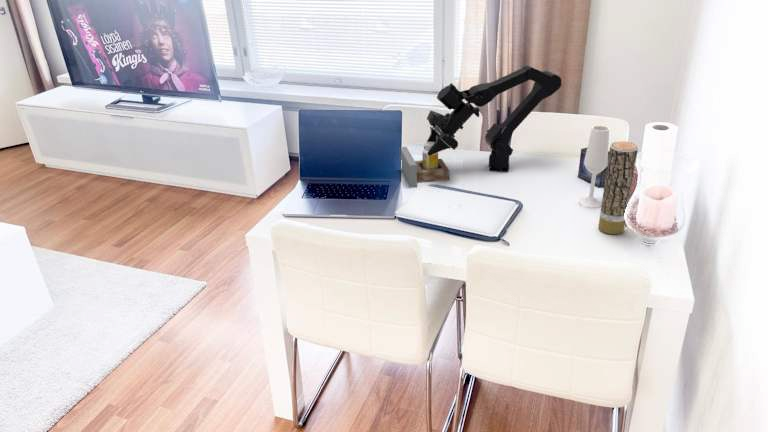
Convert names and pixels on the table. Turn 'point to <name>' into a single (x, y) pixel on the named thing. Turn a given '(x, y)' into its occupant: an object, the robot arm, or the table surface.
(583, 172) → the small box
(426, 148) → the supplement bottle
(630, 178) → the bark print cylinder
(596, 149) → the champagne flute
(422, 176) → the walnut socket block
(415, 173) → the grey backstop board
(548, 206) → the table surface
